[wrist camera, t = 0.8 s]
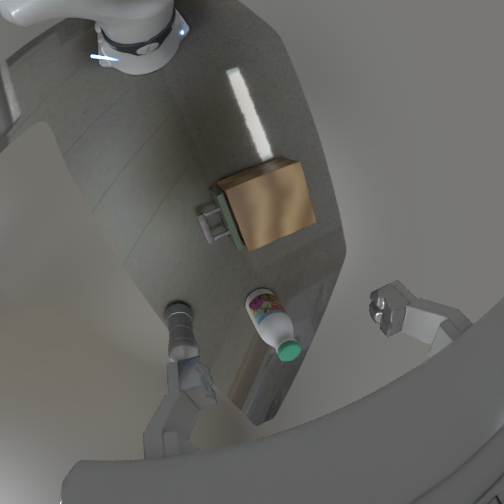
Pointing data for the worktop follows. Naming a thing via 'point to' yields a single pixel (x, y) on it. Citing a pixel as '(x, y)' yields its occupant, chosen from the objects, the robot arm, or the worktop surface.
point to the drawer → (225, 217)
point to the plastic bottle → (181, 333)
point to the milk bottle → (272, 323)
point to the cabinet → (268, 201)
